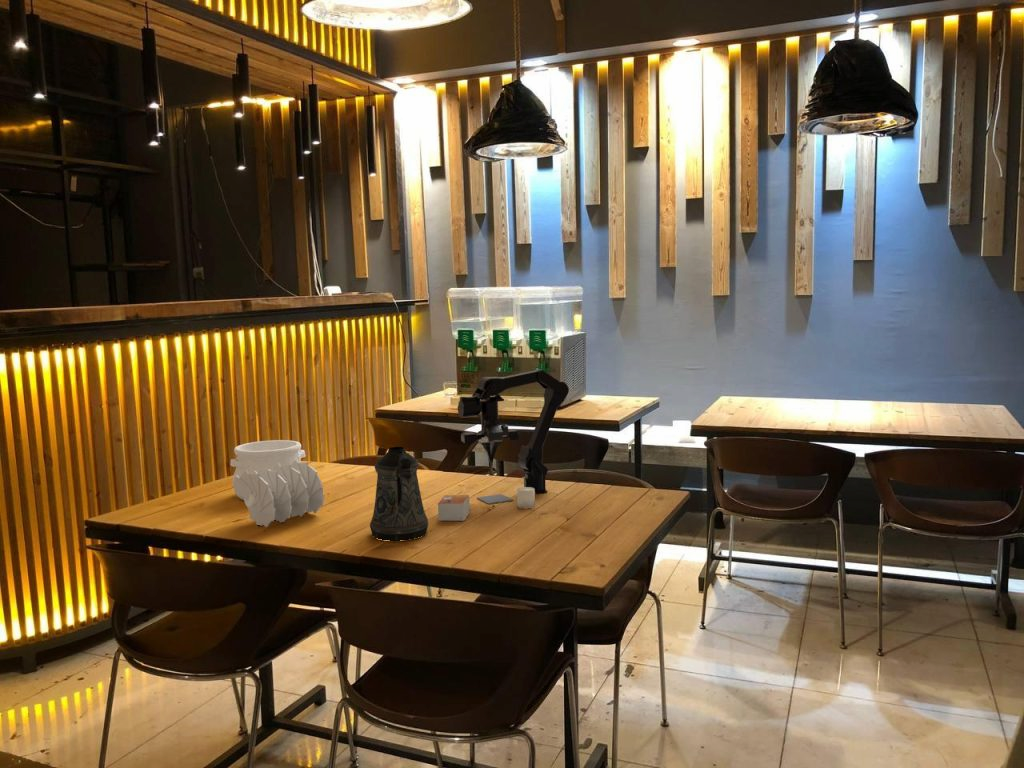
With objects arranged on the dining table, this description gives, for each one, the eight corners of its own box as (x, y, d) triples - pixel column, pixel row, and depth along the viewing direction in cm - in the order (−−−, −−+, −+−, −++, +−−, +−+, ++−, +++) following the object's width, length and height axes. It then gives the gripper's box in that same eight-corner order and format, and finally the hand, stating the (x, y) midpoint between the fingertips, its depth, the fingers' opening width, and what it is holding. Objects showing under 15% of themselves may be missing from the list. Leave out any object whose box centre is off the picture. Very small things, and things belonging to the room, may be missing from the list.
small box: (469, 494, 257) (464, 503, 247) (470, 512, 258) (464, 521, 247) (444, 494, 258) (437, 502, 248) (444, 512, 259) (438, 521, 248)
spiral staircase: (324, 525, 261) (258, 541, 241) (291, 495, 270) (224, 508, 250) (341, 476, 256) (274, 489, 235) (306, 447, 264) (239, 457, 244)
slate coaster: (501, 495, 278) (501, 494, 278) (513, 500, 270) (513, 499, 270) (477, 498, 274) (477, 497, 274) (488, 504, 266) (488, 503, 266)
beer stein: (401, 522, 248) (397, 440, 245) (448, 533, 235) (445, 446, 233) (358, 536, 235) (354, 449, 232) (405, 548, 223) (401, 456, 220)
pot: (292, 483, 305) (289, 436, 303) (320, 495, 285) (318, 445, 283) (221, 495, 289) (218, 445, 287) (246, 508, 270) (243, 455, 268)
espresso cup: (530, 502, 268) (529, 485, 268) (537, 507, 261) (536, 490, 260) (513, 503, 267) (513, 486, 266) (520, 509, 259) (519, 491, 259)
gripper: (467, 420, 263) (469, 468, 265) (523, 416, 268) (524, 464, 270) (460, 415, 274) (461, 462, 275) (514, 412, 279) (515, 457, 280)
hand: (490, 461), depth 275 cm, fingers closed
